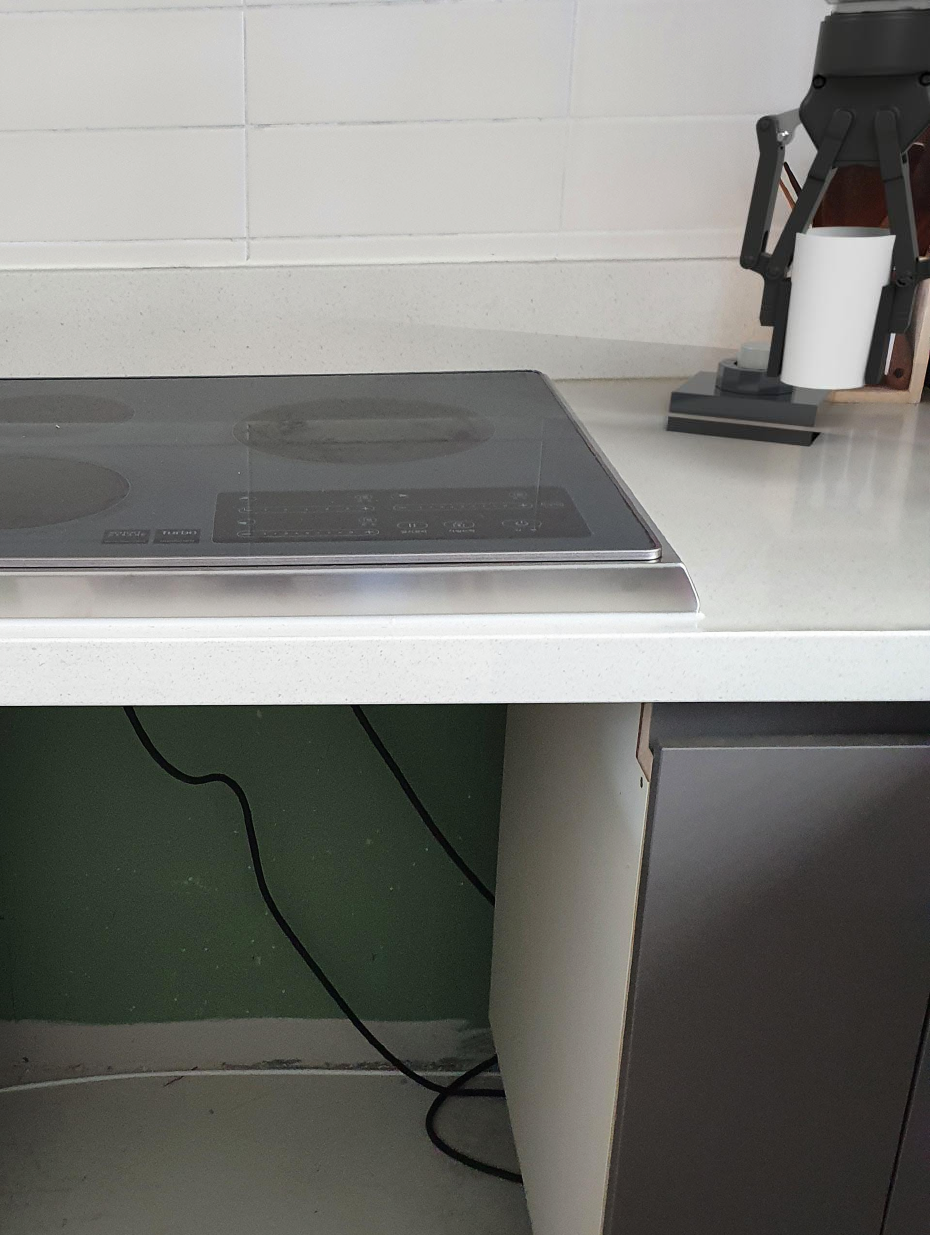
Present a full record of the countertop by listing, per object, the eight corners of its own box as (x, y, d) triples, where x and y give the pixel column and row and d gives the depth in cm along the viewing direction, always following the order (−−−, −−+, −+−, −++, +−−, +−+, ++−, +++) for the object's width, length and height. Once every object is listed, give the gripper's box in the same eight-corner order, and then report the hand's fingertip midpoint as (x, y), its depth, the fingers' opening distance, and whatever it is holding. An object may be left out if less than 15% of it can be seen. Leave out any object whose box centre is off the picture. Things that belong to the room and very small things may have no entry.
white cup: (886, 391, 92) (915, 236, 88) (783, 390, 93) (807, 238, 89) (860, 371, 98) (886, 225, 94) (764, 371, 99) (786, 227, 95)
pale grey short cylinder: (784, 367, 118) (788, 343, 117) (775, 374, 116) (779, 350, 115) (741, 363, 120) (745, 340, 119) (732, 371, 117) (735, 347, 117)
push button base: (830, 421, 121) (842, 359, 119) (809, 447, 113) (821, 381, 111) (694, 408, 127) (702, 348, 124) (666, 431, 119) (674, 368, 117)
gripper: (719, 15, 87) (675, 376, 97) (1054, -2, 78) (967, 399, 88) (745, 16, 93) (700, 358, 103) (1060, 0, 84) (977, 377, 94)
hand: (823, 376), depth 95 cm, fingers closed on white cup, 6 cm apart
